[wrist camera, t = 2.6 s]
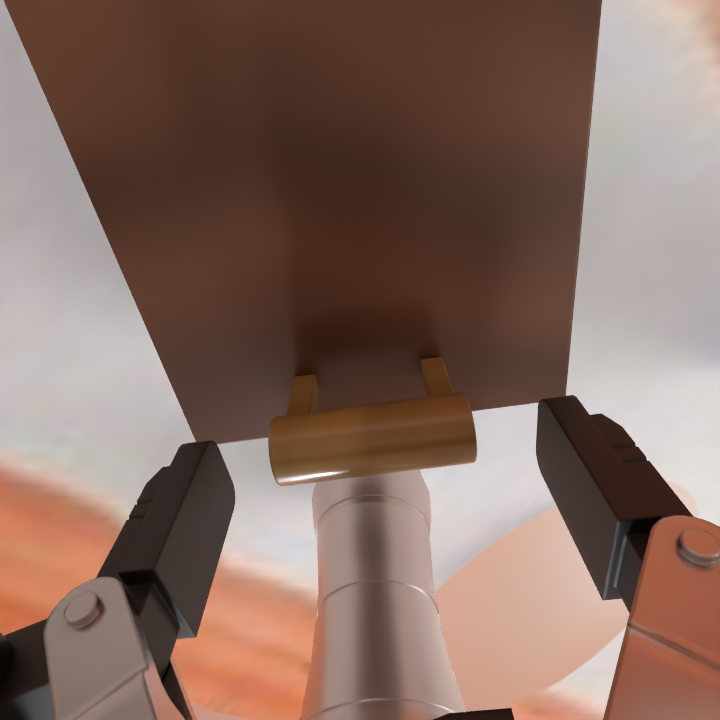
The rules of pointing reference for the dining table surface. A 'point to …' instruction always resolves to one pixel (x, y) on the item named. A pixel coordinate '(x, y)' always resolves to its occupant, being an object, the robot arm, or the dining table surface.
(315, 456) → the lid
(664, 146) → the dining table surface
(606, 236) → the dining table surface
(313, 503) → the silver metal bottle
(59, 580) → the dining table surface
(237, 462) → the dining table surface
